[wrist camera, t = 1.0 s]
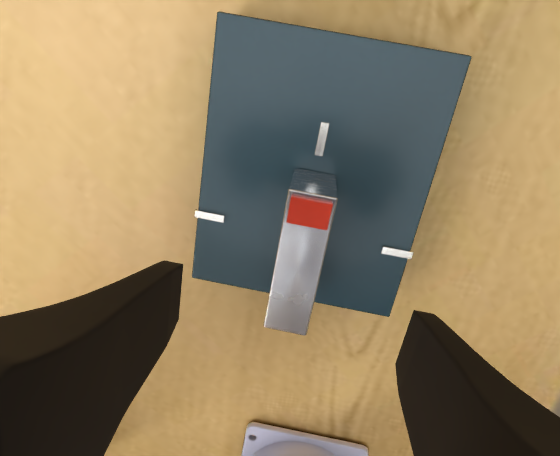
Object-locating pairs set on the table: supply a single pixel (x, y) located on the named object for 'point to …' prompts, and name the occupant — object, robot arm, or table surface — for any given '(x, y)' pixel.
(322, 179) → the tap handle
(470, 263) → the table surface
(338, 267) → the tap console
